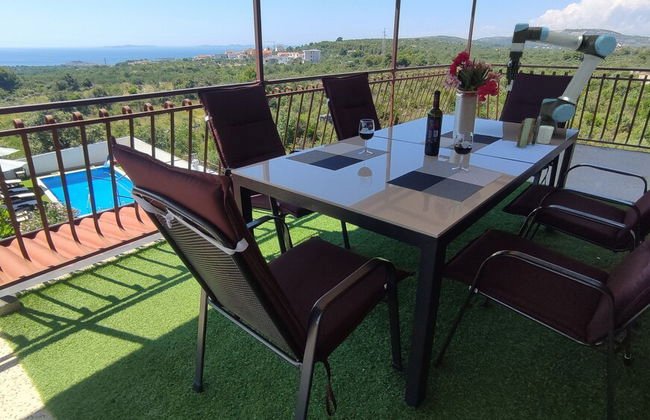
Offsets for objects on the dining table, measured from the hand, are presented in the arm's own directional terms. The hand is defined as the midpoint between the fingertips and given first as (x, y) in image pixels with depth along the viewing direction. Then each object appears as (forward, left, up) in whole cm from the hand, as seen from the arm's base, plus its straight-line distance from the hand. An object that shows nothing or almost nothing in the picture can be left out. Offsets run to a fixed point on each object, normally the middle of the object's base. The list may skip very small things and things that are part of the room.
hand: (508, 90), depth 240 cm
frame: (+11, +26, -29) cm, 41 cm away
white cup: (-5, +27, -30) cm, 40 cm away
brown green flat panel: (+12, +24, -29) cm, 39 cm away
